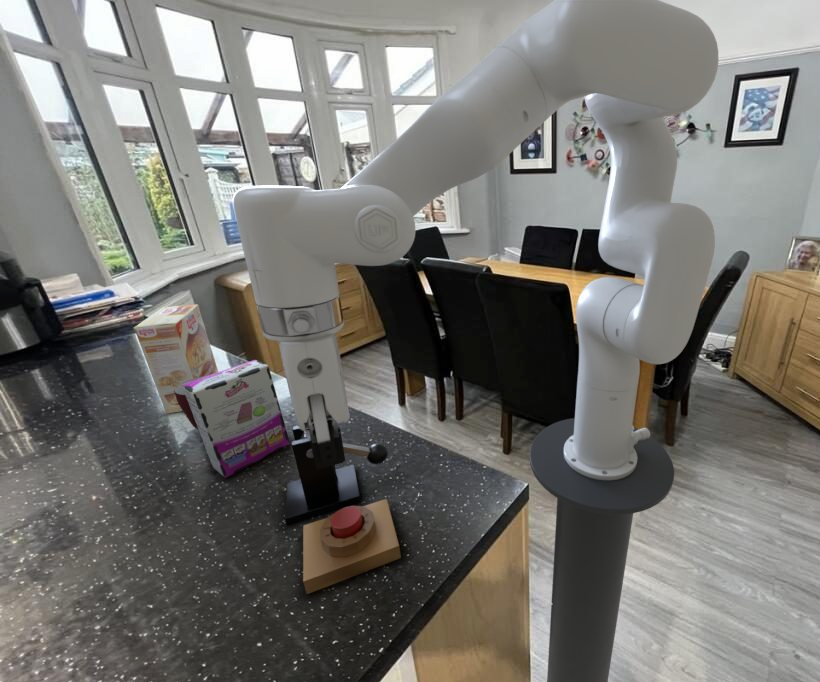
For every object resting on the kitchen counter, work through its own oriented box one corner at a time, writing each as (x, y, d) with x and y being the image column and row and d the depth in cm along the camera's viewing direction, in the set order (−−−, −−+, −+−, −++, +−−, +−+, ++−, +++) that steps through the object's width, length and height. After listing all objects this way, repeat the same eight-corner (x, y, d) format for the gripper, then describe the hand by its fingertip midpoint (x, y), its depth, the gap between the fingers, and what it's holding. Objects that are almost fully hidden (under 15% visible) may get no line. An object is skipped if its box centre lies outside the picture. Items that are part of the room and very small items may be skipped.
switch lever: (380, 458, 65) (388, 441, 65) (384, 469, 62) (392, 452, 62) (297, 443, 58) (305, 425, 58) (296, 456, 55) (305, 436, 55)
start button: (360, 512, 53) (359, 502, 53) (364, 532, 50) (362, 522, 50) (332, 522, 52) (329, 512, 51) (334, 543, 49) (331, 532, 48)
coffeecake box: (205, 408, 85) (176, 323, 77) (164, 415, 82) (130, 327, 75) (222, 378, 98) (199, 303, 90) (187, 383, 95) (160, 306, 88)
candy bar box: (276, 435, 75) (255, 358, 69) (291, 444, 73) (270, 364, 67) (210, 468, 67) (179, 383, 61) (224, 479, 64) (193, 391, 58)
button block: (388, 510, 58) (385, 488, 57) (400, 558, 51) (397, 535, 49) (306, 537, 54) (300, 515, 52) (306, 594, 46) (299, 570, 45)
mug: (211, 413, 83) (197, 370, 79) (252, 409, 84) (240, 367, 80) (181, 443, 73) (163, 396, 69) (228, 439, 74) (213, 393, 71)
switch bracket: (355, 470, 66) (343, 410, 62) (360, 502, 60) (348, 437, 55) (288, 488, 62) (271, 426, 58) (286, 525, 56) (267, 457, 51)
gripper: (348, 333, 35) (372, 493, 42) (337, 294, 48) (356, 422, 55) (251, 346, 32) (294, 516, 39) (266, 301, 45) (296, 436, 51)
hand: (330, 461), depth 47 cm, fingers closed
